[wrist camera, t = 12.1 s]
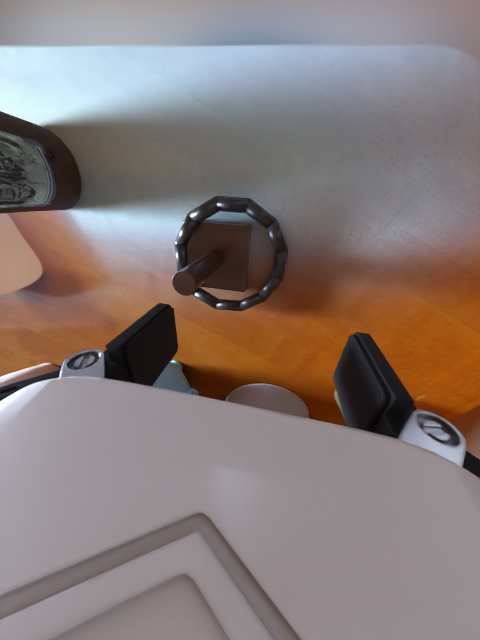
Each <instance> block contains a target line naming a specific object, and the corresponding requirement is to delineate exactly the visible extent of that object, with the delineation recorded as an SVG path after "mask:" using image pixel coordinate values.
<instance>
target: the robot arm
mask: <svg viewBox="0 0 480 640" xmlns="http://www.w3.org/2000/svg"><path fill="white" fill-rule="evenodd" d="M105 346H106V350H105V351H104V352H102V351H101V350H98V349H87V350H83V351H79V352H77V353H75V354H73V355H71V356H70V357H68V358H67V359H66V360H65V361H64V362H63V364H62V367H61V370H57V371H54V372H50V373H47V374H43V375H40V376H36V377H33V378H29V379H26V380H22V381H19V382H15V383H12V384H9V385H5V386H2V387H0V640H480V460H479V459H478V458H476V457H475V456H473V455H472V454H470V453H469V452H467V451H466V447H467V445H466V440H465V438H464V436H463V435H462V433H461V432H460V431H459V430H458V429H457V428H456V427H455V426H454V425H453V424H452V423H450V422H449V421H448V420H446V419H445V418H443V417H442V416H440V415H438V414H436V413H433V412H430V411H427V410H421V409H419V410H417V409H416V407H415V406H414V404H413V403H414V401H413V399H412V398H411V396H410V395H409V393H408V392H407V390H406V389H405V387H404V386H403V384H402V383H401V381H400V380H399V378H398V377H397V375H396V373H395V372H394V370H393V369H392V367H391V366H390V364H389V363H388V361H387V360H386V358H385V357H384V355H383V354H382V352H381V351H380V349H379V348H378V346H377V345H376V343H375V342H374V340H373V339H372V337H371V336H370V335H369V334H366V333H359V332H355V333H354V334H351V335H350V336H349V338H348V341H347V343H346V345H345V348H344V350H343V353H342V355H341V358H340V360H339V362H338V365H337V367H336V370H335V372H334V376H333V380H334V384H335V387H336V391H337V394H338V398H339V401H340V405H341V408H342V412H343V415H344V419H345V422H346V426H347V427H346V426H341V425H337V424H333V423H328V422H323V421H318V420H314V419H309V418H304V417H299V416H295V415H290V414H285V413H280V412H275V411H271V410H266V409H261V408H256V407H251V406H246V405H241V404H236V403H232V402H227V401H222V400H217V399H212V398H207V397H202V396H197V395H192V394H187V393H182V392H177V391H171V390H166V389H161V388H156V387H152V386H153V384H154V383H155V382H156V380H157V379H158V377H159V376H160V375H161V373H162V372H163V370H164V369H165V368H166V366H167V365H168V363H169V362H170V361H171V359H172V358H173V357H174V355H175V354H176V352H177V350H178V342H177V333H176V325H175V316H174V309H173V308H171V306H170V305H168V304H162V303H159V304H157V305H156V306H155V307H153V308H152V309H151V310H150V311H148V312H147V313H146V314H144V315H143V316H142V317H141V318H139V319H138V320H137V321H136V322H134V323H133V324H132V325H131V326H129V327H128V328H127V329H126V330H124V331H123V332H122V333H121V334H119V335H118V336H117V337H116V338H114V339H113V340H112V341H111V342H109V343H108V344H107V345H105Z"/></svg>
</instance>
